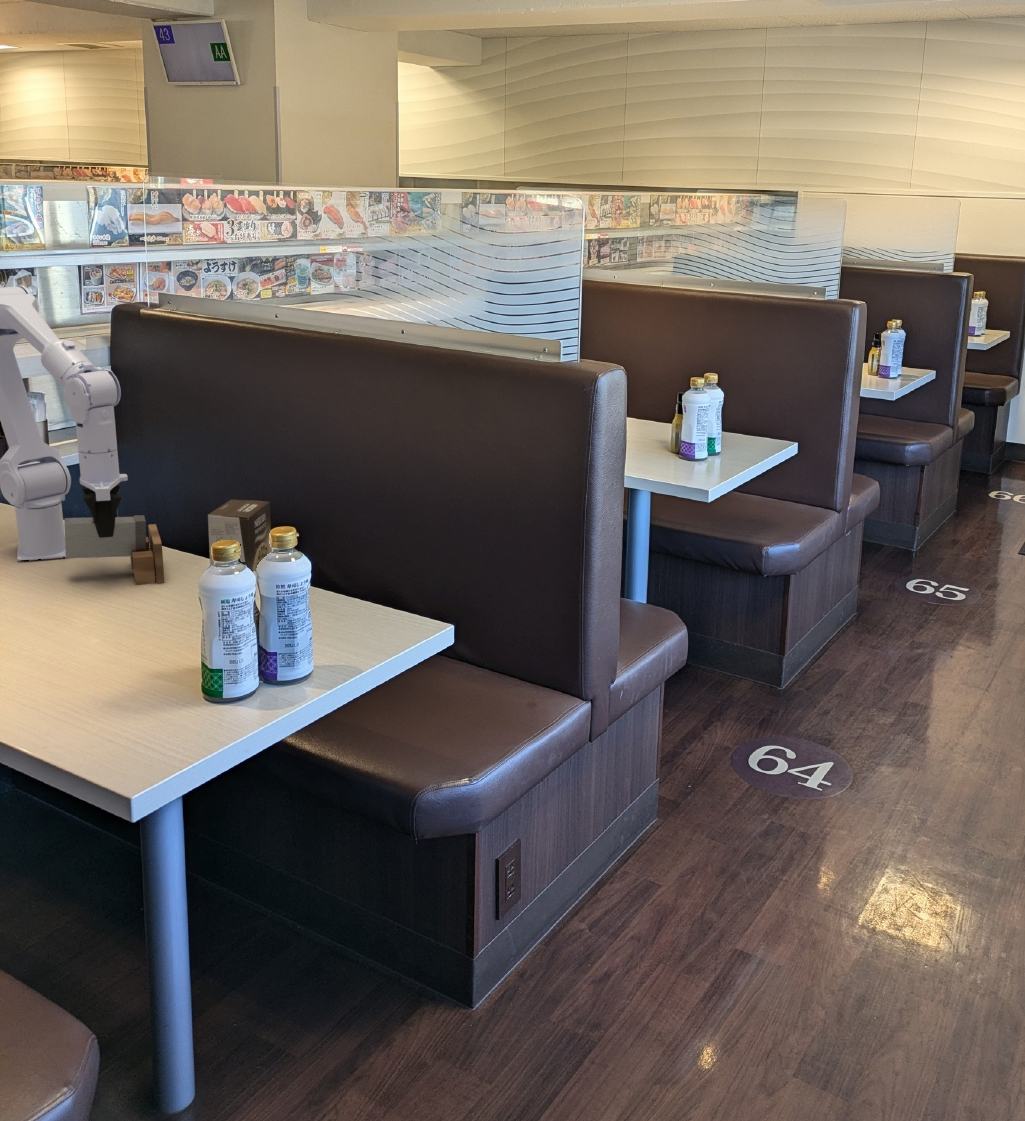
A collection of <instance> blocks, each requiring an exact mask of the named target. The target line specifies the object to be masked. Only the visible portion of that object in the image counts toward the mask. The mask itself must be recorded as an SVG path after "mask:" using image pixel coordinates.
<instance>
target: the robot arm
mask: <svg viewBox="0 0 1025 1121" xmlns="http://www.w3.org/2000/svg"><path fill="white" fill-rule="evenodd" d="M38 309H39V308H38V302H37V298H36V296H35V295H33V293H32V292H31V290H30V289H29V288H28V287H26V286H24V285H21V284H20V285H15V286H5V287H0V423H1V427H2V430H3V433H4V437H5V439H6V442H7V446H8V450H6V452H5V453H4V455H2V457H1V458H0V492H1V493H2V494H1V495H3V497H4V499H5V500H6V501H7V502H8V503H9V505H10V506H14V509H15V510H14V511H15V518H16V520H15V521H16V527H17V535H18V537H17V538H18V543H19V545H18V544H17V554H16V560H29V561H38V559H41V560H50V559H51V560H52V559H60V558H61V559H64V558H63V557H65V558H66V551H65V523H64V515H63V506H62V502H63V501H66V495H67V494H68V493H69V491H70V489H71V486H72V485H71V484H72V477H71V474H70V471H69V468H68V467H67V465H66V464H65V463H64V460H63V459H62V456H61V454H60V451H59V450H58V449H57V448H55V447H53V446H51V445H49V444H48V443H46V442H44V441H43V440H42V437H41V433H40V431H39V427H38V424H37V421H36V418H35V415H34V413H33V409H32V405H31V403H30V400H29V396H28V393H27V390H26V387H25V383H24V380H23V377H22V374H21V371H20V368H19V364H18V361H17V357H16V355H15V352H14V351H15V350H14V347H15V345H16V343H17V342H19V341H21V340H22V339H24V340H25V341H27V342H28V344H30V345H31V346H32V347H33V348H35V349H36V350H37V352H39V353H40V354H41V356H40V363H41V364H42V365H41V366H42V367H44V369H45V370H46V371H47V372H48V373H49V374H50V375H51V376H52V377H53V378H54V379H55V381H56V382H57V383H59V385H60V386H61V387H62V388H63V389H64V390H63V395H64V399H65V402H66V404H67V405H68V408H69V411H70V417H71V419H72V421H73V422H75V430H76V440H77V441H76V442H77V443H76V444H77V450H78V451H77V454H78V464H79V471H80V476H79V483H80V485H82V487H81V490H82V492H83V494H82V499H83V501H84V503H85V504H86V506H87V507H88V509H89V511H90V513H91V516H92V518H93V519H94V523H95V527H96V530H97V533H98V536H99V538H104V537H113V534H114V528H115V517H117V511H118V508H119V505H120V503H121V502H122V501H121V500H122V496H123V495H122V493H118V492H119V490H120V488H121V487H120V483H121V482H127V481H128V480H129V479H128V478H129V477H128V475H127V473H120V467H119V466H120V465H119V464H120V463H119V456H118V455H119V454H118V444H117V443H118V442H117V430H116V428H117V427H116V418H115V408H114V407H116V406H117V405H118V404H119V402H120V401H121V396H122V394H121V393H122V392H121V391H122V390H121V386H120V382H119V380H118V377H117V376H116V375H115V373H114V372H113V370H112V369H109V368H102V367H101V366H95V365H94V364H93V363H92V362H91V360H90V359H88V357H87V356H86V355H85V354H83V352H82V351H81V350H80V349H79V348H78V347H77V346H76V345H75V343H74V342H73V341H72V340H68V339H60V338H59V337H58V336H57V334H55V332H54V331H53V329H52V328H51V327H50V325H48V323H47V322H46V320H45V319H44V318H43V316H41V315H40V313H39V310H38ZM33 462H34V463H33ZM35 462H36V463H35ZM28 463H30V464H28ZM23 464H25V465H23ZM19 465H20V466H19ZM19 557H21V558H19Z"/></svg>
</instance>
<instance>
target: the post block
mask: <svg viewBox="0 0 1025 1121" xmlns="http://www.w3.org/2000/svg"><path fill="white" fill-rule="evenodd" d="M147 528H148V536H146V551H142V552H132V556H129V557H130V565H131V570H133V578H134V583H135V584H134V585H146V584H164V583H165V581H166V580H165V570H164V569H165V568H164V556H163V555H164V554H163V553H164V552H163V544H162V540H161V536H160V533H159V530H158V527H157V524H156V523H155V524H153V523H152V524H151V523H150V524H148V525H147Z"/></svg>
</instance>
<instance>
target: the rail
mask: <svg viewBox="0 0 1025 1121" xmlns="http://www.w3.org/2000/svg"><path fill="white" fill-rule="evenodd" d="M63 524H64V534H65V551H66V557H65V559H90V558H91V559H92V558H119V557H121V558H124V557H130V556H132V552H142V551H146V537H147V520H146V518H145V515H139V514H138V515H135V514H134V515H133V516H116V517H115V528H114V534H113V537H104V538H99V536H98V533H97V530H96V527H95V523H94V519H93V517H63Z"/></svg>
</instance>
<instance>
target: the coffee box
mask: <svg viewBox="0 0 1025 1121" xmlns="http://www.w3.org/2000/svg"><path fill="white" fill-rule="evenodd" d="M270 506H271V503H270V501H267V500H266V501H265V500H264V501H263V500H253V499H252V500H249V499H246V500H245V499H243V500H241V499H230V500H228V501H226V502H225V503H224V504H222V505H220V506H219V507H217V508H216V509H214V510H213V511H212V512H209V513H208V514H207V522H208V523H207V526H208V527H207V528H208V530H207V531H208V547H209V567H210V566H211V565H213V564H214V561H213V560H212V555H211V546H212V544H213V543H215V542H217V541H221V540H236V541H238V542H239V543H240V544H241V555H240V561H241V562H247V563H248V565H249V566H250V568H251V569H252V570H253V571H256V568H257V565H258V564H259V562H260V561H261V560H262V559H263V558H264V557H265V556H267V554H269V553H270V552H271V553H272V546H271V547H270V544H269V533H270V531H271V528H272V527H271V508H270ZM271 532H272V531H271Z"/></svg>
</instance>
